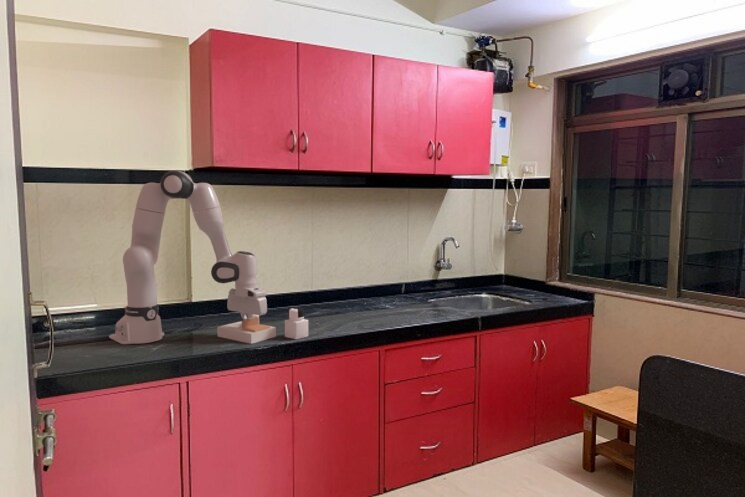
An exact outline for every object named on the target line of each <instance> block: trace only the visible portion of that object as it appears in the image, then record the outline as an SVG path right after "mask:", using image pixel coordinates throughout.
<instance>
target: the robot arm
mask: <svg viewBox="0 0 745 497" xmlns="http://www.w3.org/2000/svg"><path fill="white" fill-rule="evenodd" d="M171 199H177V200H180V199H181V200H182V199H184V200H186V201H188V202H189V204H190V208H191V212H192V213H193V214H192V215H193V218H194V220H195V222H196V225H197V227H198V228H199V230H200V231H202V232H203V233H204V234H205V235H206V236H208V238H209V240H210V242H211V245H212V247H213V248H212V249H213V251H214V255H215V260H216V262H215V263H214V264H213V266H212V267H211V270H210V274H211V277H212V279H213V280H214V281H215V282H217V283H218V284H228V283H232V282H234V283H235V284H234V286H235V287H234V288H230V289H229V291H228V296H227V304H226V305H227V306H226V307H227V310H228V311H231V312H238V313H240V316H241V318H242V321H243V320H247V319H251V318H252V316H253V314H254V315H259V316H265V315H266V314H267V312H268V304H267V302H268V301H267V298H266V296H267V291H266V290H265V289H263V288H262V287H260V286H259V285H258V280H257V275H258V274H257V273H258V268H257V259H256V255H255V254H253V253H252V252H249V251H244V250H238V251H236V252H235V253H234V254H232V252H231V250H230V246H229V243H228V240H227V238H226V233H225V228H224V218H223V213H222V207H221V204H220V202H219V199H218V196H217V194H216V191H215V189H214V188H213V186H212V185H211V184H209V183H208V182H198V183H195V182H194V180H193V178H192V176H191V175H189V174H188V173H186V172H184V171H182V170H170V171H167V172H165V173H164V175H163V176H162V177H161V179H160V181H159V183H157V182H147V183H145V184H144V185H143V186H142V188H141V190H140V192H139V195H138V197H137V201H136V204H135V210H134V214H133V219H132V224H131V225H132V226H131V240H130V247H128V248H127V249H126V250H125V251H124V253H123V257H122V264H123V271H124V277H125V283H126V295H127V296H126V298H127V305H126V306H125V307H124V309H123V310H125V312H124V315H123V316H122V317H121V318H120V319H119V320H118V321H117V322H116V323H115V327H114V329H115V330H114V331H115V333H112V334H109V336H108V337H109V339H111V340H113V341H115V342H117V343H118V344H120V345H131V344H133V345H134V344H139V345H140V344H147V343H153V342H157V341H160V340H162V339H163V337H164V336H165V332H164V331H163V329H162V320H161V316H160V315H159V309H160V308H159V304H158V292H157V289H158V288H157V283H156V282H157V281H156V274H155V264H156V263H157V262H158V259H159V253H160V248H161V247H160V245H161V237H162V236H161V235H162V230H163V224H164V219H165V214H166V208H167V205H168V203H169V201H170V200H171Z"/></svg>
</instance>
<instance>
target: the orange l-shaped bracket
mask: <svg viewBox="0 0 745 497" xmlns="http://www.w3.org/2000/svg"><path fill="white" fill-rule="evenodd" d="M241 321H242V329H243V330H248V331H252V332H257V331H261V330H264V329H268V328H270V326H271V325H267V324H262V325H261V324H260V316H259V317H255V318H251V319H247V320H243V319H242V320H241Z"/></svg>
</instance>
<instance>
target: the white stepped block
mask: <svg viewBox="0 0 745 497" xmlns="http://www.w3.org/2000/svg"><path fill="white" fill-rule="evenodd" d="M288 312H289V313H288V314H289V316H288V317H289V318H288V319H285V320H284V338H288V339H293V340H299V339H303V338H308V337H309V319H305V310H304V309H303V308H301V307H292V308H290V309H289V310H288Z"/></svg>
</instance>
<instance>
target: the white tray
mask: <svg viewBox="0 0 745 497" xmlns="http://www.w3.org/2000/svg"><path fill="white" fill-rule="evenodd" d="M242 321H243V320H241V321H237V322H231V323H227V324H224V325H220V326H217V328H216V331H217V332H216V333H217V337H218V338H223V339H227V340H231V341H237V342H241V343H246V344H256V343H259V342H263V341H265V340H268V339H273V338H276V337H277V327H275V326H272V325H269V326H270V328H268V329H264V330H261V331H257V332H252V331H248V330H243V329H242ZM261 325H263V324H261Z"/></svg>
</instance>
